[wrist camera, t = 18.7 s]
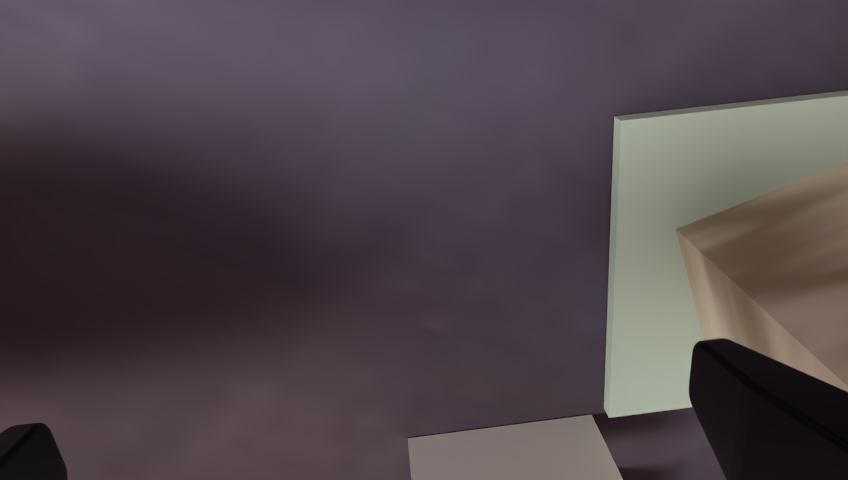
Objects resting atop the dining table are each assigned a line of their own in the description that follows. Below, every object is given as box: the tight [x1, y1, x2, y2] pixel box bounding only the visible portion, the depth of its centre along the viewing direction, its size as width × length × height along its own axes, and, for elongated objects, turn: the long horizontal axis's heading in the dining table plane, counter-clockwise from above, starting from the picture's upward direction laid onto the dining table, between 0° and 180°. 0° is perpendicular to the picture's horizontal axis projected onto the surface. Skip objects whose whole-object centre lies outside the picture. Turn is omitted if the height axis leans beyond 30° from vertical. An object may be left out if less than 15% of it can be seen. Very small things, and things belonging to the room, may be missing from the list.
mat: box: [604, 90, 848, 418], centre depth 24 cm, size 12×12×1 cm
